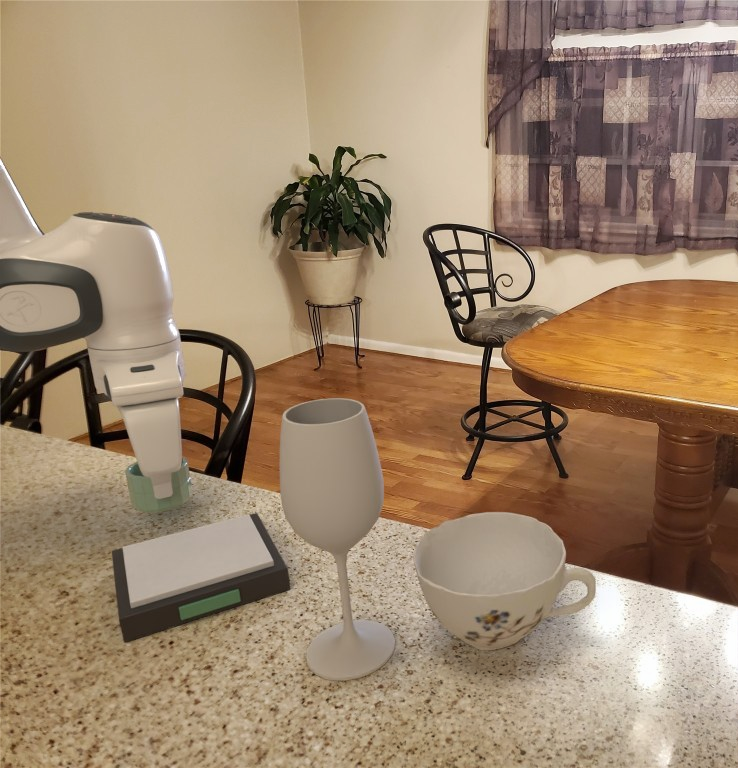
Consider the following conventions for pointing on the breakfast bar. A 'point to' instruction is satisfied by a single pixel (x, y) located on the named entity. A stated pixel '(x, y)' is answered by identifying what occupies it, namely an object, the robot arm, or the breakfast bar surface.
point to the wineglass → (335, 517)
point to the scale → (195, 574)
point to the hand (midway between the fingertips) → (159, 482)
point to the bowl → (144, 493)
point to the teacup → (495, 577)
